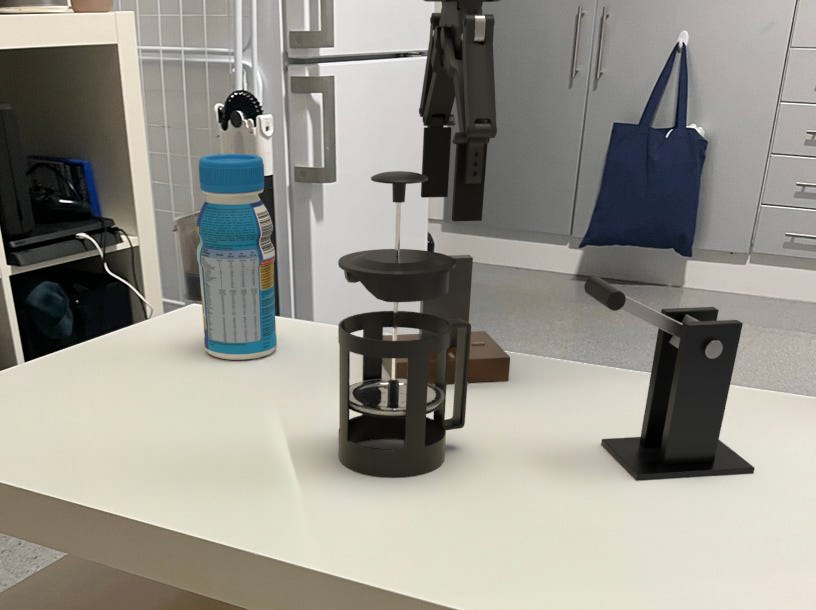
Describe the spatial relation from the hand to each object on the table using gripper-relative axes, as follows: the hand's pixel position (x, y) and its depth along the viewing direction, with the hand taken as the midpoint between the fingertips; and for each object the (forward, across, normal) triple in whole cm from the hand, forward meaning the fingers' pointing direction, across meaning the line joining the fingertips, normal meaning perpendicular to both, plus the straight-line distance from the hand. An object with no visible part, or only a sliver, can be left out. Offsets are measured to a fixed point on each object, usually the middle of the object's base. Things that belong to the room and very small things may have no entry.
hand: (449, 208), depth 101 cm
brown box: (+16, 0, 0) cm, 16 cm away
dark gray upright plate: (+14, 0, 0) cm, 14 cm away
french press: (+16, +26, -10) cm, 32 cm away
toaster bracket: (+16, +30, +13) cm, 36 cm away
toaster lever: (+4, +30, +9) cm, 31 cm away
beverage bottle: (+16, -10, -21) cm, 28 cm away
